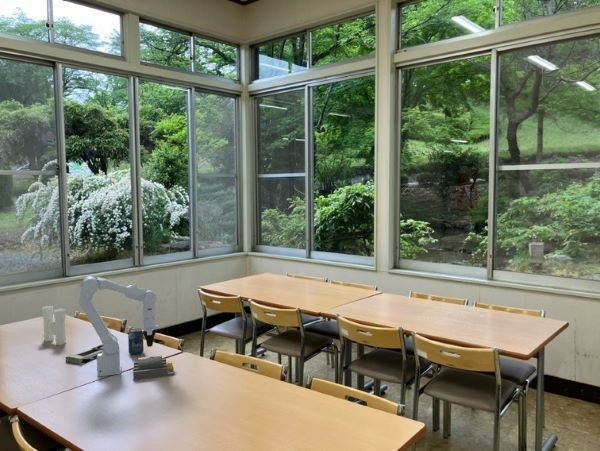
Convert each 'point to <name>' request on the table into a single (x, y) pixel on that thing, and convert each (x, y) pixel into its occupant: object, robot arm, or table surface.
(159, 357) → the panel
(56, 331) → the binoculars
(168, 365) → the rack
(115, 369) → the robot arm
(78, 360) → the graphics card
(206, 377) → the table surface
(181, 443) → the table surface
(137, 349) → the soda can
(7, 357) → the table surface
